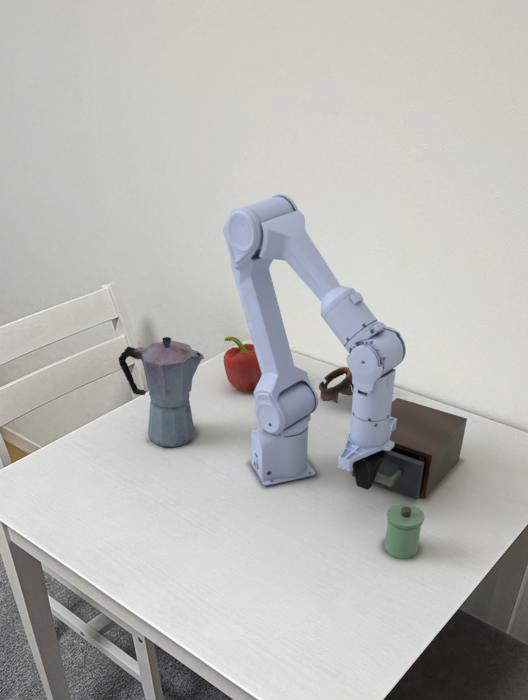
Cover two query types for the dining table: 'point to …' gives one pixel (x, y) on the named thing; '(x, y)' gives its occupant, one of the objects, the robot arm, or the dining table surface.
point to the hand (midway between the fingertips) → (364, 486)
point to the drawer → (401, 473)
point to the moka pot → (166, 388)
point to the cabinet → (428, 438)
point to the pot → (403, 530)
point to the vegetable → (242, 366)
